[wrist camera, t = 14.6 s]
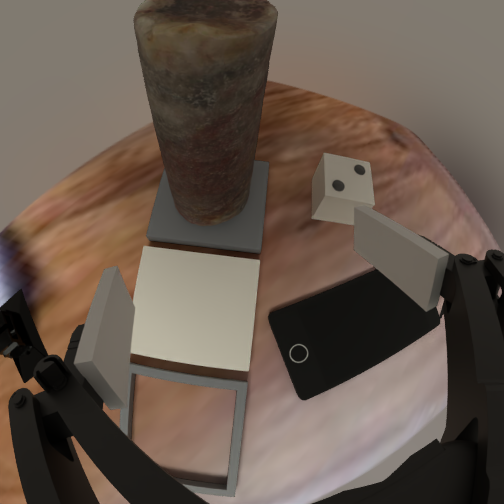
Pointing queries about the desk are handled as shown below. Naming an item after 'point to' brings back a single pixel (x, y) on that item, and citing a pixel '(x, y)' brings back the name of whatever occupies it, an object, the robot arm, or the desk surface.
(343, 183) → the die
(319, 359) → the cell phone
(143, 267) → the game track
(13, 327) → the black chunky piece
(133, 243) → the desk surface
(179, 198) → the candle
